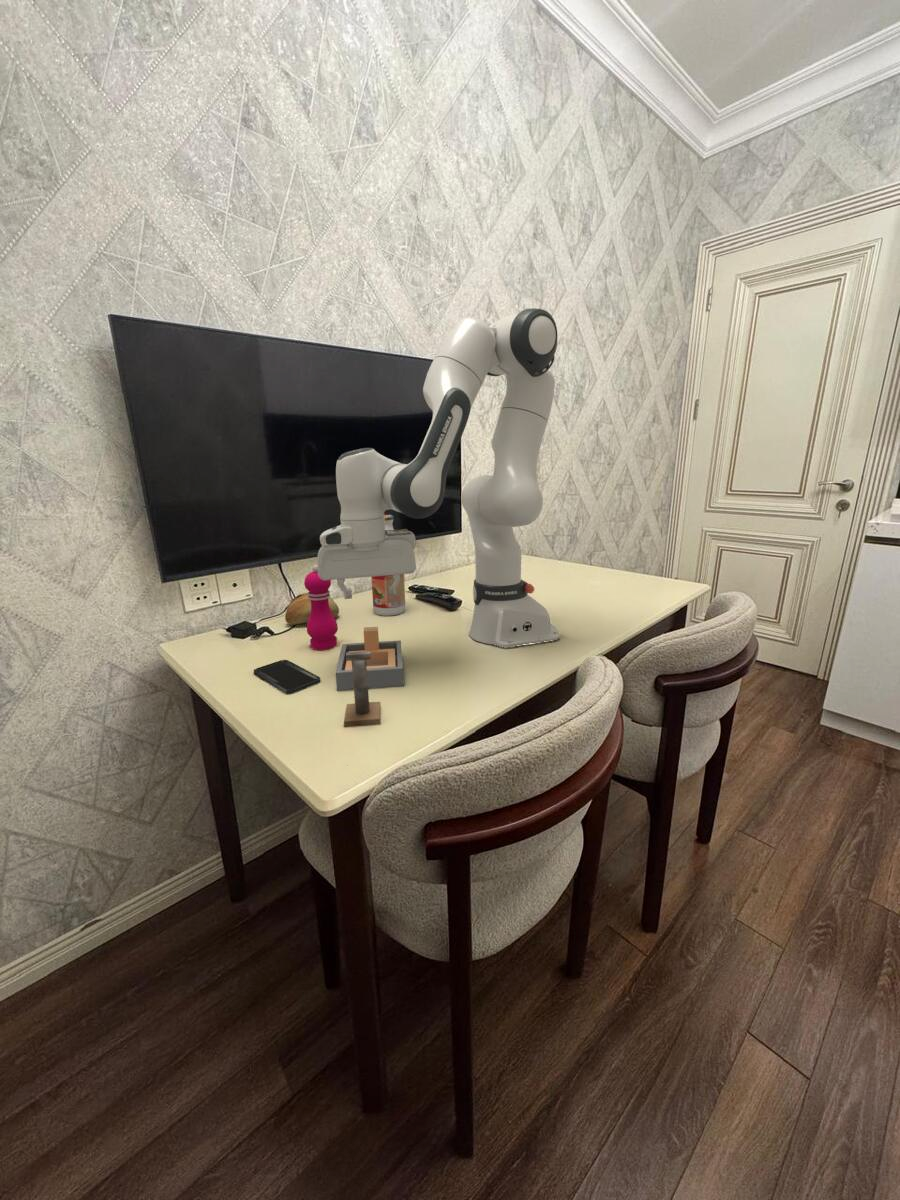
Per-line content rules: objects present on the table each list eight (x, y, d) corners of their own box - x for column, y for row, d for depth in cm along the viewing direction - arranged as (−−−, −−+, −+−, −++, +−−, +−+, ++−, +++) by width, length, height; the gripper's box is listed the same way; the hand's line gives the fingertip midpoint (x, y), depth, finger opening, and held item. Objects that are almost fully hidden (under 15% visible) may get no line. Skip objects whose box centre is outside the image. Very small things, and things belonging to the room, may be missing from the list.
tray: (401, 655, 109) (400, 640, 108) (403, 685, 95) (402, 668, 94) (343, 659, 107) (342, 644, 106) (337, 690, 93) (335, 672, 92)
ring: (395, 654, 107) (393, 625, 105) (396, 679, 96) (394, 646, 94) (350, 657, 106) (347, 628, 104) (345, 682, 95) (342, 649, 93)
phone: (285, 658, 107) (322, 678, 97) (285, 663, 107) (323, 683, 97) (251, 670, 101) (286, 692, 91) (251, 674, 101) (287, 697, 92)
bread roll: (281, 621, 133) (277, 594, 131) (332, 611, 141) (329, 585, 139) (291, 631, 126) (288, 602, 123) (344, 620, 134) (342, 593, 131)
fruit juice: (403, 616, 136) (398, 517, 128) (370, 616, 136) (363, 518, 128) (407, 606, 145) (403, 513, 137) (376, 606, 145) (371, 513, 137)
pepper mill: (331, 652, 112) (323, 568, 106) (303, 650, 113) (293, 568, 107) (344, 640, 118) (337, 562, 113) (317, 639, 120) (309, 561, 114)
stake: (380, 706, 87) (376, 645, 83) (380, 723, 81) (375, 659, 78) (347, 708, 86) (341, 647, 83) (344, 726, 81) (338, 661, 77)
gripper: (413, 526, 101) (418, 588, 106) (316, 532, 99) (324, 596, 104) (415, 530, 95) (420, 596, 100) (311, 538, 93) (320, 604, 98)
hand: (370, 596), depth 102 cm, fingers open, 8 cm apart
